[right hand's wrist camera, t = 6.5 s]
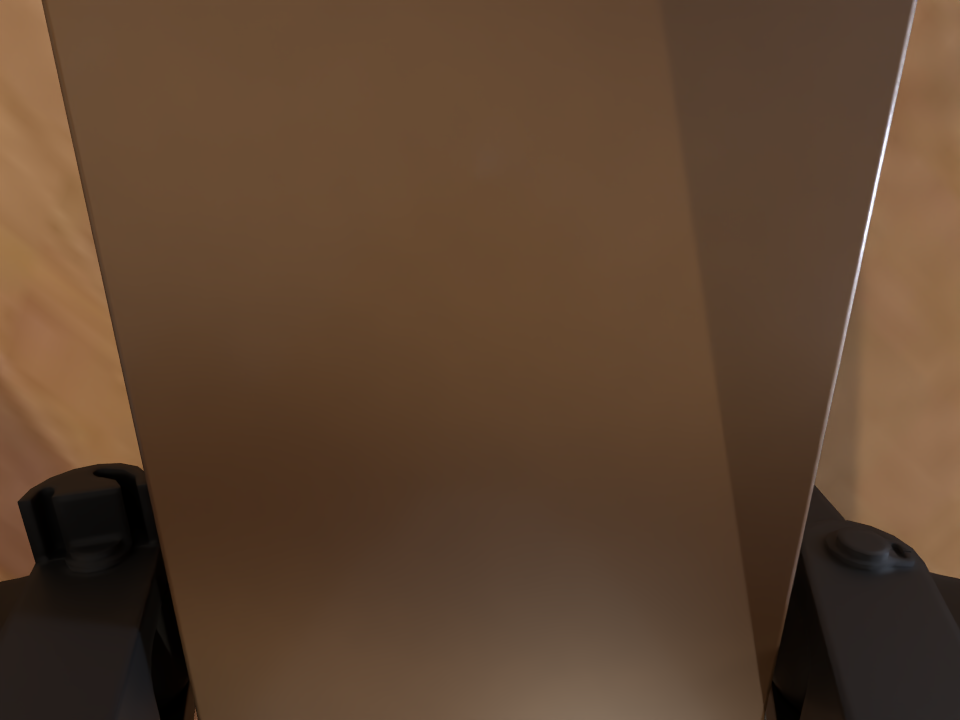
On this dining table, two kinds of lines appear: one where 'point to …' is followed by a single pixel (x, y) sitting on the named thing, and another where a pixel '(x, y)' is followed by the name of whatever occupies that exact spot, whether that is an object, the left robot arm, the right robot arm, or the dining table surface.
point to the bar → (480, 334)
